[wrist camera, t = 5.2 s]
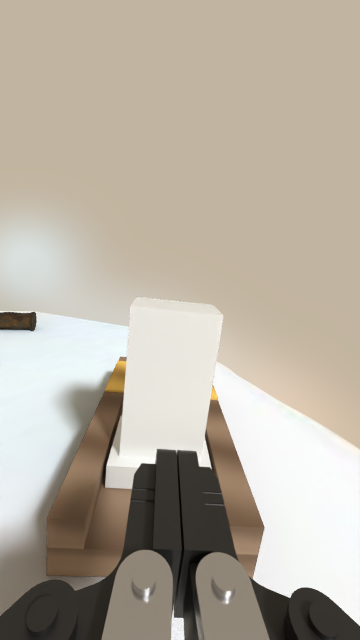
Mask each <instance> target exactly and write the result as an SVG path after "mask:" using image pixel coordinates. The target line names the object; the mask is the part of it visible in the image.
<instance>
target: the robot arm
mask: <svg viewBox="0 0 360 640" xmlns="http://www.w3.org/2000/svg"><path fill="white" fill-rule="evenodd" d="M173 605H174V618H184V636H185V640H360V626H359V625H358V624H357V623H356V622H355V621H354V620H353V619H351V618H350V617H349V616H348V615H347V614H346V613H345V612H344V611H343V610H342V609H341V608H340V607H339V606H338V605H337V604H335V603H334V602H333V601H332V600H331V599H330V598H329V597H327V596H326V595H324V594H323V593H321V592H319V591H317V590H315V589H312V588H300V589H297V590H296V591H294V593H293V594H292V595H291V598H288V597H286V596H283V595H281V594H279V593H276V592H274V591H272V590H269V589H267V588H265V587H263V586H261V585H259V584H258V583H256V582H255V581H254V580H253V579H252V578H251V577H250V576H249V575H248V574H247V572H246V570H245V569H244V567H243V566H242V565H241V564H240V562H239V560H238V558H237V555H236V551H235V547H234V543H233V539H232V534H231V530H230V526H229V522H228V518H227V513H226V509H225V507H224V501H223V497H222V495H221V488H220V484H219V480H218V478H217V476H216V475H215V473H214V472H213V471H212V469H211V468H210V467H199V462H198V456H197V452H196V451H187V450H177V452H176V450H170V449H157V452H156V460H155V464H147V463H141V465H140V466H139V468H138V469H137V471H136V472H135V474H134V478H133V485H132V492H131V499H130V506H129V513H128V520H127V527H126V534H125V541H124V548H123V553H122V556H121V559H120V561H119V563H118V565H117V566H116V567H115V569H114V570H113V571H112V572H111V573H110V574H109V575H108V576H107V577H106V578H105V579H103V580H102V581H100V582H98V583H96V584H94V585H91V586H88V587H86V588H83V589H80V590H77V591H74V589H73V588H72V587H71V586H70V585H69V584H68V583H66V582H64V581H61V580H49V581H45V582H42V583H40V584H38V585H36V586H35V587H33V588H31V589H30V590H29V591H28V592H26V593H25V594H24V595H23V596H22V597H21V598H20V599H19V600H18V601H16V602H15V603H14V604H13V605H12V606H11V607H10V608H9V609H8V610H7V611H5V612H4V613H3V614H2V615H1V616H0V640H171V619H172V612H173Z"/></svg>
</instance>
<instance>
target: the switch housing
mask: <svg viewBox="0 0 360 640" xmlns="http://www.w3.org/2000/svg"><path fill="white" fill-rule="evenodd" d="M126 361H127V357H120V359H119V361H118V362H117V364H116V366H115V368H114V371H113V373H112V375H111V377H110V379H109V381H108V384H107V386H106V388H105V392H104V394H103V396H102V398H101V400H100V403H99V405H98V407H97V409H96V411H95V414H94V416H93V418H92V420H91V422H90V425H89V427H88V429H87V431H86V433H85V436H84V438H83V440H82V442H81V444H80V447H79V449H78V451H77V453H76V455H75V458H74V460H73V462H72V464H71V466H70V469H69V471H68V473H67V475H66V477H65V479H64V482H63V484H62V486H61V488H60V490H59V493H58V495H57V497H56V499H55V501H54V504H53V506H52V508H51V510H50V512H49V515H48V517H47V561H46V575H57V576H94V577H107V576H108V575H109V574H110V573H111V572H112V571H113V570H114V569H115V567H116V566H117V565H118V563H119V561H120V559H121V556H122V553H123V548H124V541H125V534H126V527H127V520H128V513H129V506H130V499H131V492H132V489H122V488H105V480H106V466H107V462H108V459H109V455H110V452H111V448H112V444H113V441H114V437H115V434H116V430H117V427H118V423H119V420H120V416H122V413H123V400H124V387H125V374H126ZM205 440H206V445H207V450H208V454H209V459H210V463H211V468H212V471H213V472H214V473H215V475H216V476H217V478H218V480H219V484H220V488H221V495H222V497H223V501H224V507H225V509H226V513H227V518H228V522H229V526H230V530H231V534H232V539H233V543H234V547H235V551H236V555H237V558H238V560H239V562H240V564H241V565H242V566H243V567H244V569H245V570H246V572H247V574H248V575H249V576H250V577H251V578H252V579H253V575H254V570H255V566H256V562H257V557H258V553H259V549H260V544H261V540H262V536H263V531H264V525H263V522H262V520H261V517H260V514H259V511H258V509H257V506H256V503H255V500H254V498H253V495H252V492H251V490H250V487H249V484H248V481H247V479H246V476H245V473H244V470H243V468H242V465H241V462H240V460H239V457H238V454H237V451H236V449H235V446H234V443H233V440H232V438H231V435H230V432H229V430H228V427H227V424H226V421H225V419H224V416H223V413H222V410H221V408H220V405H219V402H218V397H217V394H216V392H215V389H214V386H212V392H211V399H210V405H209V412H208V418H207V424H206V431H205Z"/></svg>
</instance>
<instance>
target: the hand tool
mask: <svg viewBox="0 0 360 640" xmlns="http://www.w3.org/2000/svg"><path fill="white" fill-rule="evenodd" d="M35 327H36V313H35V312H31V313H14V312H12V313H11V312H3V313H0V328H8V329H30V330H31V331H34V330H35Z"/></svg>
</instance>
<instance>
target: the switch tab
mask: <svg viewBox="0 0 360 640" xmlns="http://www.w3.org/2000/svg"><path fill="white" fill-rule="evenodd" d="M222 321H223V315H222V313H220V312H219V311H218V310H217V309H216V308H215V307H214V306H213V305H209V304H200V303H191V302H181V301H171V300H162V299H153V298H143V297H137V298H136V299H135V301H134V302H133V303H132V305H131V310H130V322H129V335H128V348H127V361H126V374H125V387H124V400H123V413H122V416H120V420H119V423H118V427H117V430H116V434H115V437H114V441H113V444H112V448H111V452H110V455H109V459H108V462H107V466H106V480H105V488H122V489H132V485H133V478H134V474H135V472H136V471H137V469H138V468H139V466H140V465H141V463H147V464H155V460H156V452H157V449H170V450H176V452H177V450H187V451H196V452H197V456H198V462H199V467H210V468H211V463H210V459H209V454H208V450H207V445H206V440H205V431H206V424H207V418H208V412H209V405H210V399H211V392H212V386H213V379H214V373H215V366H216V360H217V353H218V347H219V340H220V334H221V327H222ZM211 469H212V468H211Z"/></svg>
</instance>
